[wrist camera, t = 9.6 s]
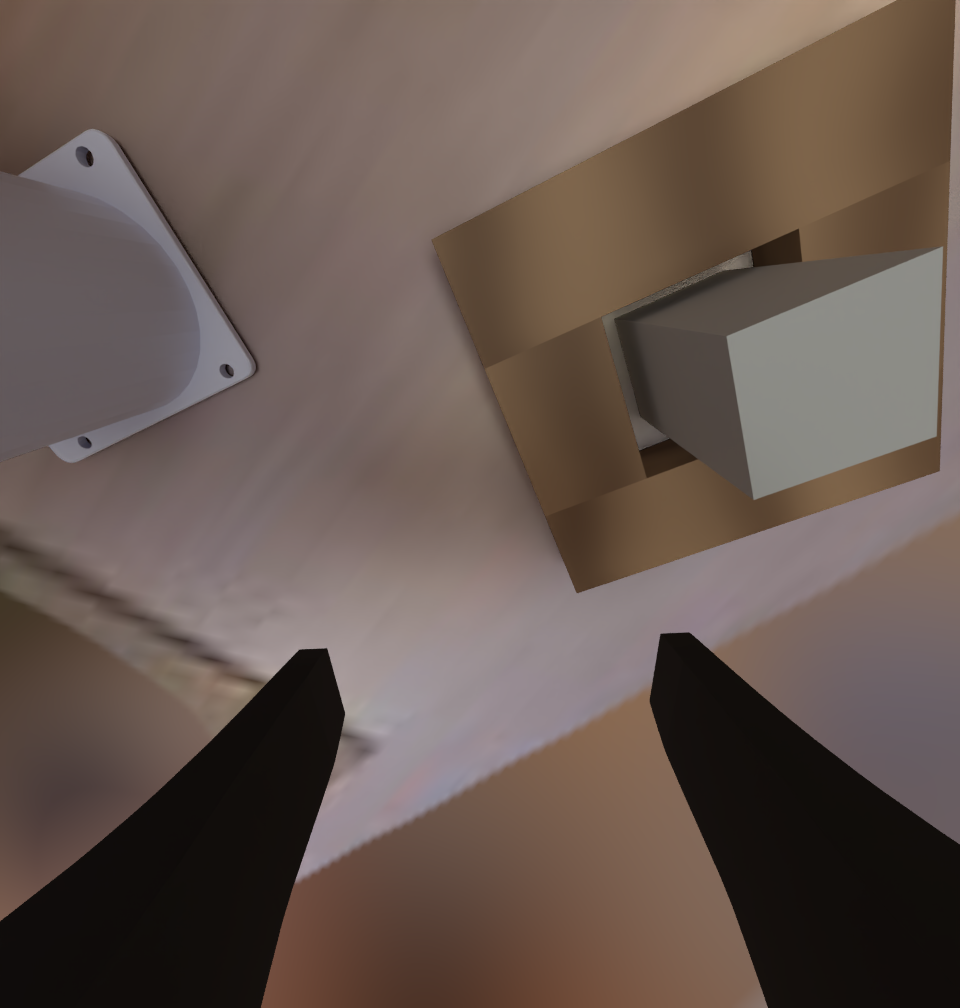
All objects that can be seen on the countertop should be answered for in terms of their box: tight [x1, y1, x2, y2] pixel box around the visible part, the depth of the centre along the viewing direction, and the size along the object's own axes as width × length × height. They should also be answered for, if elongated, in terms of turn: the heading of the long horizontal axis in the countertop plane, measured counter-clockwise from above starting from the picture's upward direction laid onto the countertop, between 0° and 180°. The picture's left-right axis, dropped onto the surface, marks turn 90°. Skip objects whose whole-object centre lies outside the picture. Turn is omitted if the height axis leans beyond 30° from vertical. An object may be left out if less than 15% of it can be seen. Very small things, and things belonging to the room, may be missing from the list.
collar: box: [432, 0, 955, 593], centre depth 15 cm, size 14×14×2 cm
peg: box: [615, 246, 943, 500], centre depth 13 cm, size 4×4×8 cm
